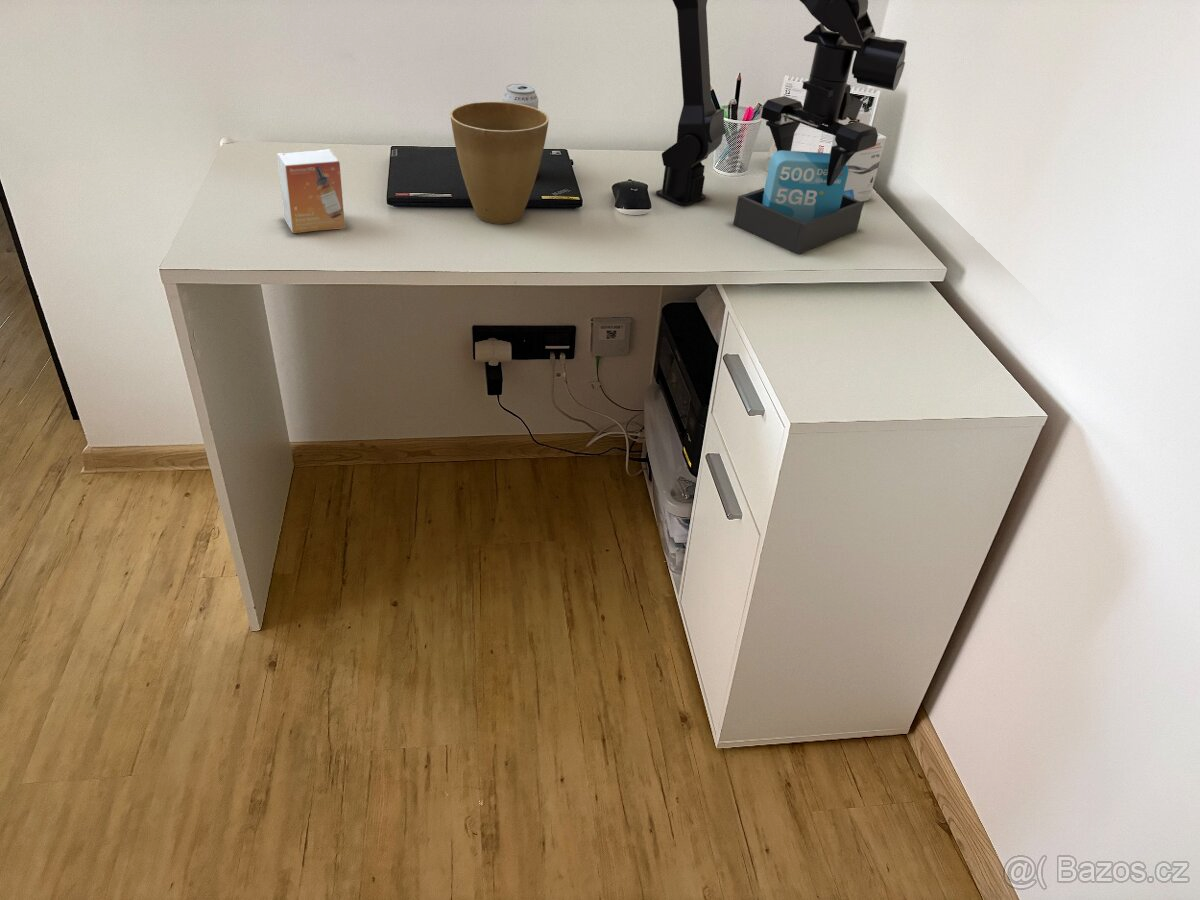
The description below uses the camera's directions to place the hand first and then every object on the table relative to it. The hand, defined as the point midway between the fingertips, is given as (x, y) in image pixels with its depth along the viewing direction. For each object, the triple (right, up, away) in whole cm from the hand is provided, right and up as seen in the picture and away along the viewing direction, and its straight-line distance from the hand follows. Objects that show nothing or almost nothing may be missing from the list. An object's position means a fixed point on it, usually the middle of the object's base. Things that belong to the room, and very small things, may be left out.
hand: (806, 176), depth 149 cm
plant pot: (-50, -7, 0) cm, 51 cm away
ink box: (+11, +1, +18) cm, 21 cm away
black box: (-1, -7, +5) cm, 9 cm away
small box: (-77, -10, -9) cm, 78 cm away
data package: (-1, -7, +5) cm, 9 cm away
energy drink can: (-48, +4, +14) cm, 50 cm away
